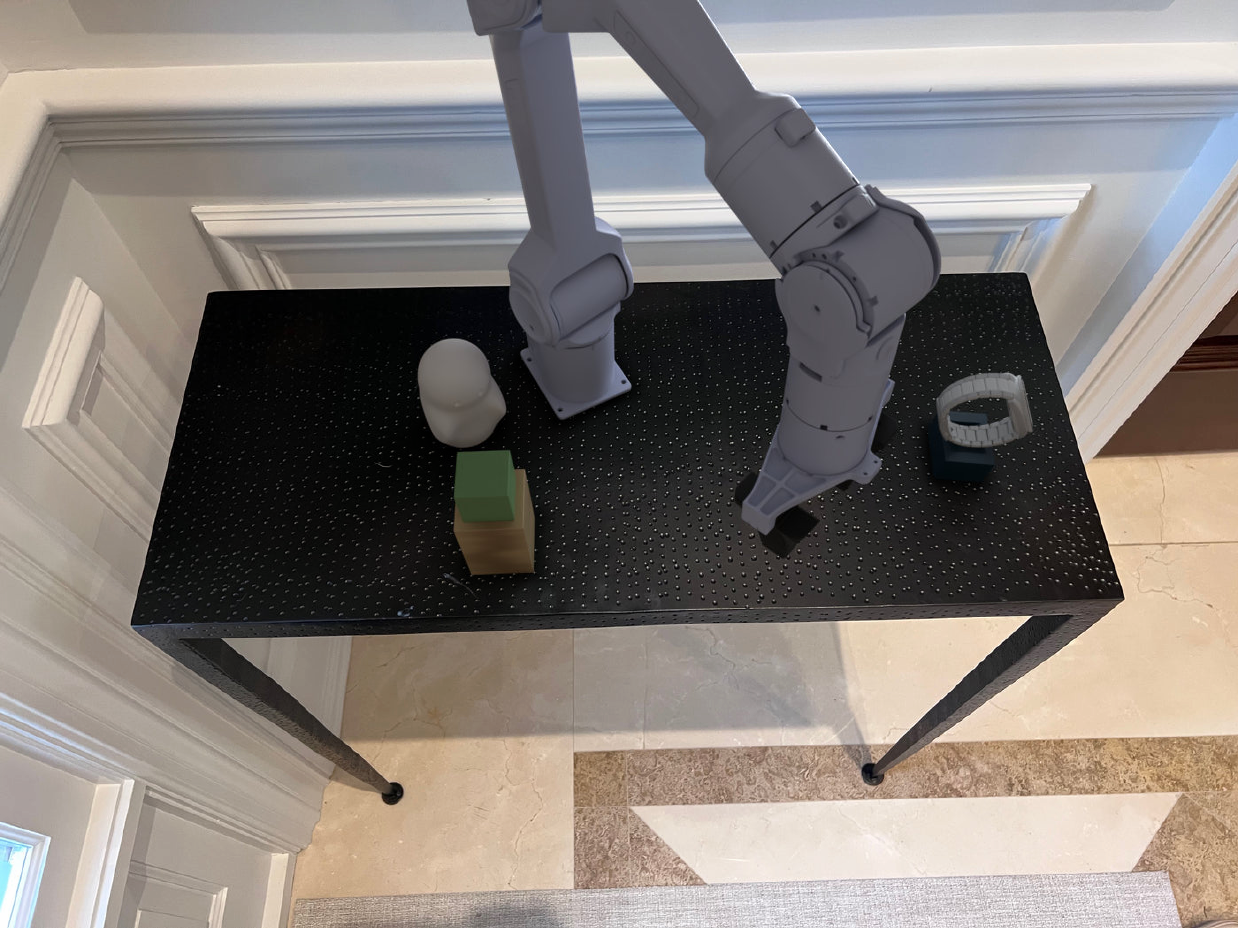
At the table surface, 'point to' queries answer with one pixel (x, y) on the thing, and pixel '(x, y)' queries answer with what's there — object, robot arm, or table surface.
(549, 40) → the robot arm
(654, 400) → the table surface
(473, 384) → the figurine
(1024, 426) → the watch
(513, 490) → the green block
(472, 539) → the wooden block
